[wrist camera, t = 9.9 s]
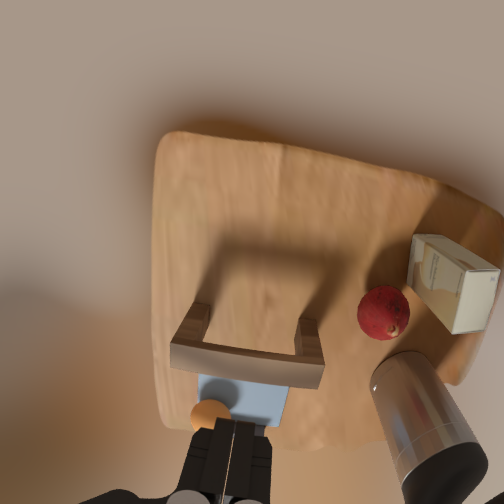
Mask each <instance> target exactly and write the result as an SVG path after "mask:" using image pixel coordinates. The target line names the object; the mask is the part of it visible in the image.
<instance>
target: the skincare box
mask: <svg viewBox="0 0 504 504" xmlns="http://www.w3.org/2000/svg"><path fill="white" fill-rule="evenodd" d="M499 275H500V269H498V268H497V267H495V266H493V265H492V264H490V263H489V262H487V261H486V260H484V259H482V258H481V257H479V256H477V255H476V254H474V253H473V252H471V251H469V250H467V249H466V248H464V247H462V246H461V245H459V244H457V243H456V242H454V241H452V240H450V239H449V238H447V237H445V236H443V235H436V234H413V238H412V245H411V252H410V259H409V267H408V275H407V284H408V285H409V286H410V287H411V288H412V289H413V291H414V292H415V293H416V294H417V295H418V296H419V297H420V298H421V299H422V301H423V302H424V303H425V304H426V305H427V306H428V307H429V308H430V309H431V311H432V312H433V313H434V314H435V315H436V316H437V317H438V319H439V320H440V321H441V322H442V323H443V324H444V326H445V327H446V328H447V329H448V330H449V331H450V333H451V334H463V333H474V332H482V331H484V330H485V329H486V325H487V322H488V318H489V315H490V311H491V308H492V305H493V302H494V298H495V292H496V288H497V284H498V279H499Z"/></svg>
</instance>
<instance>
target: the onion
mask: <svg viewBox="0 0 504 504" xmlns="http://www.w3.org/2000/svg"><path fill="white" fill-rule="evenodd" d="M409 316H410V309H409V304H408V301H407V299H406V298H405V296H404V295H403V294H402V292H401V291H400V290H398V289H396V288H394V287H391V286H389V285H386V286H378V287H376V288H374V289H372V290H370V291H369V292H368V293H367V294H366V295H365V296H364V297H363V298H362V299H361V301H360V304H359V306H358V312H357V318H358V322H359V325H360V327H361V329H362V330H363V331H364V332H365V333H366V334H367V335H368V336H369V337H371V338H374V339H377V340H390V339H392V338H395V337H397V336H398V335H400V334H401V333H402V332H403V331H404V329H405V328H406V326H407V324H408V321H409Z"/></svg>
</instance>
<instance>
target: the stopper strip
mask: <svg viewBox="0 0 504 504" xmlns="http://www.w3.org/2000/svg"><path fill="white" fill-rule="evenodd" d="M236 423H237V422H235V425H234V432H233V438H234V435H235V429H236ZM264 429H265V426H264V425H255V434H254V435H255V436H263V437H264Z"/></svg>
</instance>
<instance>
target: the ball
mask: <svg viewBox="0 0 504 504" xmlns="http://www.w3.org/2000/svg"><path fill="white" fill-rule="evenodd" d="M217 417H221V418H227V419H231V414H230V411H229V410H228V408H227V407H226V406H225V405H224V404H223V403H222V402H220V401H217V400H213V399H207V400H203V401H201V402H199V403H198V404H196V405H195V406H194V408H193V410H192V412H191V423H192V426H193V428H194V429H195V430H196V431H198V430H199V429H200V428H201V427H204V428H209V429H214V426H215V421H216V418H217Z"/></svg>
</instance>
